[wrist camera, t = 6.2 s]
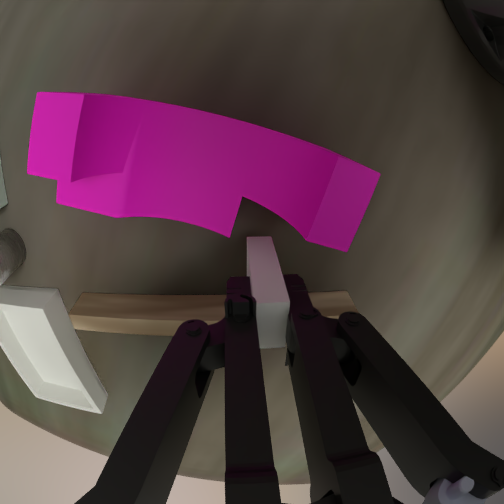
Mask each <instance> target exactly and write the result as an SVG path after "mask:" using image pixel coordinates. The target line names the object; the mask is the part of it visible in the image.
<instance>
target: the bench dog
mask: <svg viewBox="0 0 504 504" xmlns="http://www.w3.org/2000/svg"><path fill="white" fill-rule="evenodd" d="M25 258H26V249H25V245H24V243H23V241H22V239H21V237H20V236H19V235H18V233H17V232H15V231H14V230H12V229H9V228H7V229H4V230H3V231H2V232H0V286H1V285H2V284H3V283H4V282H5V280H6V279H7V278H8V277H9V276H10V275H11V274H12V273H13V272H14V271H15V270H16V269H17V268H18V267H19V266H20V265H21V264H22V263H23V262H24V261H25Z"/></svg>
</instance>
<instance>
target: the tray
mask: <svg viewBox="0 0 504 504" xmlns="http://www.w3.org/2000/svg"><path fill="white" fill-rule="evenodd" d="M0 346H1V347H2V349H3V351H4V352H5V354H6V355H7V357H8V359H9V360H10V362H11V363H12V365H13V366H14V368H15V369H16V371H17V372H18V373H19V375H20V376H21V378H22V379H23V380H24V382H25V383H26V385H27V386H28V387H29V389H30V390H31V391H32V393H33V394H34V395H35V396H36V397H37V398H40V399H43V400H47V401H50V402H54V403H57V404H61V405H65V406H69V407H73V408H77V409H81V410H86V411H90V412H95V413H100V414H102V413H103V410H104V406H105V403H106V400H107V397H108V393H107V391H106V390H105V388H104V386H103V385H102V383H101V381H100V379H99V377H98V376H97V374H96V372H95V370H94V368H93V366H92V364H91V363H90V361H89V359H88V357H87V355H86V353H85V351H84V349H83V347H82V345H81V342H80V340H79V338H78V336H77V334H76V332H75V329H74V327H73V325H72V323H71V320H70V318H69V315H68V313H67V311H66V308H65V306H64V303H63V301H62V298H61V295H60V293H59V290H58V289H57V288H39V287H24V286H11V285H1V286H0Z"/></svg>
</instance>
